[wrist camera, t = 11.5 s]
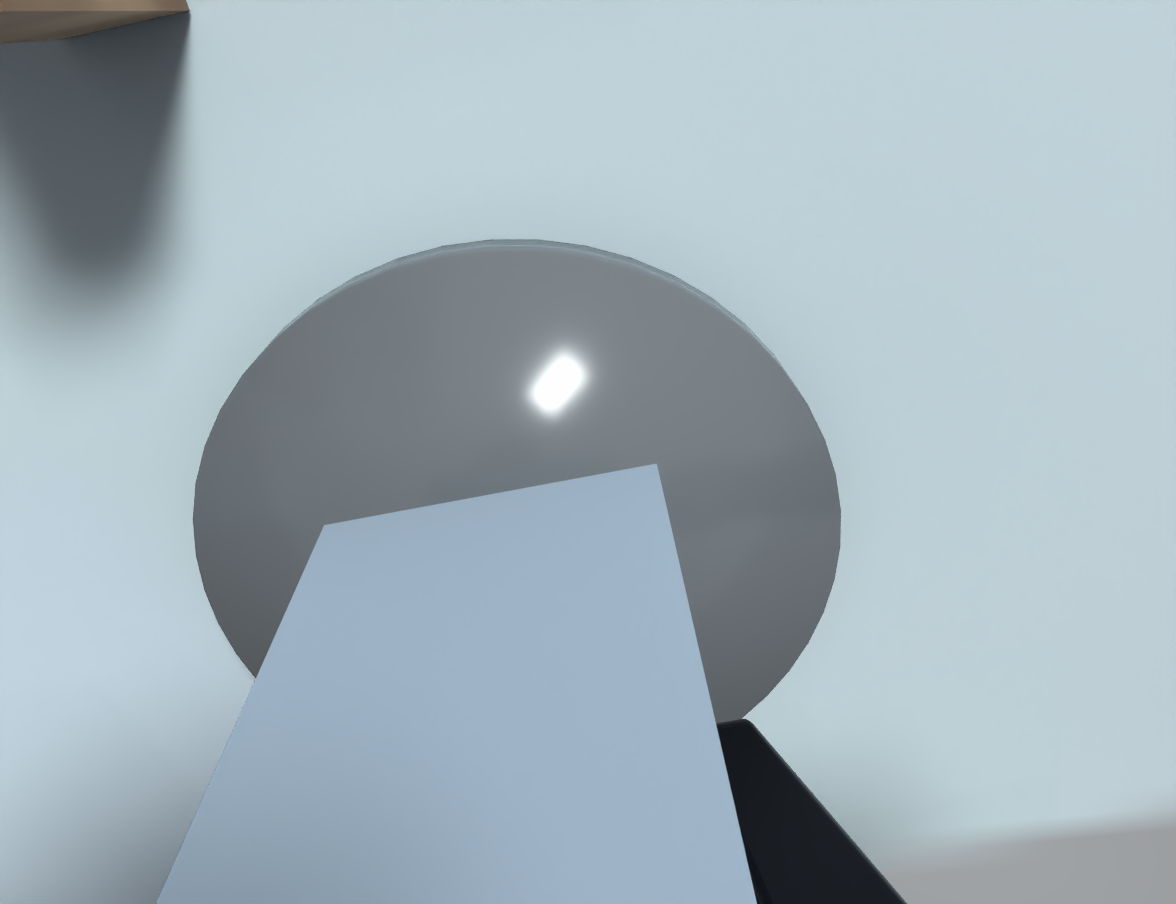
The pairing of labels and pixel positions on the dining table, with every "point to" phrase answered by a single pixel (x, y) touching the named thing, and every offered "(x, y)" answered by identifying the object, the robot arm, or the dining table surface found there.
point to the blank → (479, 718)
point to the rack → (76, 16)
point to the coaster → (527, 436)
